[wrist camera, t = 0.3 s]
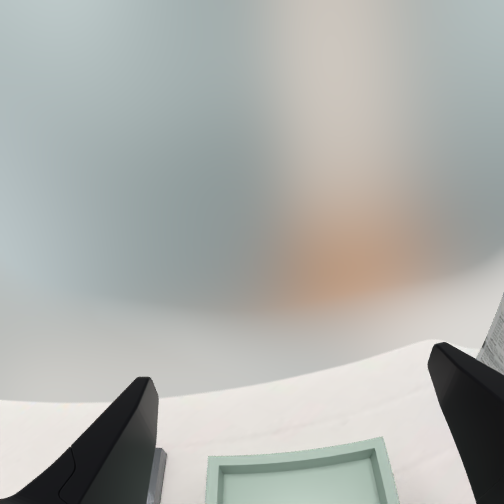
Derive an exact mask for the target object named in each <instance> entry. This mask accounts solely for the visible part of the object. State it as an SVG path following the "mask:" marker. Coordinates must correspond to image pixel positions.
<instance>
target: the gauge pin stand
mask: <svg viewBox="0 0 504 504" xmlns="http://www.w3.org/2000/svg"><path fill="white" fill-rule="evenodd" d="M166 456H167V454H166V453H165V451H164V450H163V449H162V448H155V453H154V459H153V465H152V471H151V477H150V484H149V490H148V497H147V504H160V498H161V491H162V483H163V476H164V469H165V462H166Z"/></svg>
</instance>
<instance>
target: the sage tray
mask: <svg viewBox="0 0 504 504" xmlns="http://www.w3.org/2000/svg"><path fill="white" fill-rule="evenodd" d="M205 504H400V502H399V498H398V494H397V489H396V485H395V481H394V477H393V473H392V469H391V465H390V461H389V458H388V454H387V450H386V446H385V443H384V439H383V437H378V438H374V439H369V440H364V441H359V442H354V443H349V444H344V445H338V446H332V447H325V448H319V449H311V450H303V451H295V452H285V453H274V454H261V455H242V456H208V467H207V482H206V497H205Z"/></svg>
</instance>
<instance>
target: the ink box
mask: <svg viewBox="0 0 504 504" xmlns="http://www.w3.org/2000/svg"><path fill="white" fill-rule="evenodd" d="M476 359H477V360H478V361H480V362H482V363H484V364H485V365H487V366H489V367H491V368H493V369H494V370H496V371H498V372H500V373H501V374H503V375H504V294H503V297H502V299H501V302H500V305H499V307H498V310H497V313H496V315H495V318H494V320H493V322H492V325H491V327H490V330H489V332H488V334H487V337H486V339H485V341H484V344H483V346H482V348H481V350H480V352H479V354H478V356H477V358H476Z"/></svg>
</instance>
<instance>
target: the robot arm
mask: <svg viewBox="0 0 504 504" xmlns="http://www.w3.org/2000/svg"><path fill="white" fill-rule="evenodd" d="M428 370H429V373H430V376H431V379H432V382H433V385H434V388H435V392H436V395H437V398H438V401H439V404H440V407H441V409H442V412H443V414H444V416H445V419H446V421H447V424H448V426H449V428H450V431H451V433H452V436H453V438H454V441H455V444H456V446H457V449H458V451H459V454H460V457H461V459H462V462H463V465H464V468H465V470H466V473H467V476H468V479H469V482H470V485H471V488H472V491H473V494H474V497H475V500H476V504H504V375H503V374H501V373H500V372H498V371H496V370H494V369H493V368H491V367H489V366H487V365H485V364H484V363H482V362H480V361H478V360H477V359H475V358H473V357H471V356H470V355H468V354H466V353H464V352H462V351H461V350H459V349H457V348H455V347H453V346H452V345H450V344H448V343H446V342H442V343H438V344H435V345H434V346H433V348H432V351H431V354H430V357H429V360H428ZM158 402H159V399H158V394H157V391H156V389H155V386H154V384H153V381H152V380H151V378H150V377H137V378H136V379H135V380H134V381H133V382H132V383H131V384H130V385H129V386H128V387H127V388H126V390H124V391H123V392H122V393H121V394H120V396H119V397H118V398H117V399H116V400H115V401H114V402H113V403H112V404H111V405H110V406H109V407H108V408H107V409H106V410H105V411H104V412H103V413H102V414H101V415H100V416H99V417H98V418H97V419H96V420H95V421H94V422H93V423H92V425H91V426H90V427H89V428H88V429H87V430H86V431H85V432H84V433H83V434H82V435H81V436H80V437H79V438H78V439H77V440H76V441H75V442H74V443H73V444H72V445H71V447H69V448H68V449H67V450H66V451H65V452H64V453H63V454H62V455H61V456H60V457H59V458H58V459H57V460H56V461H55V462H54V463H53V464H52V465H51V466H50V467H48V468H47V469H46V470H45V471H44V472H43V473H41V474H40V475H39V476H38V477H36V478H35V479H34V480H33V481H32V482H30V483H29V484H28V485H27V486H25V487H24V488H23V489H22V490H20V491H19V492H18V493H16V494H14V495H13V496H10V497H8V498H4V499H0V504H147V497H148V490H149V484H150V477H151V471H152V465H153V459H154V453H155V447H156V437H157V419H158Z"/></svg>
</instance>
